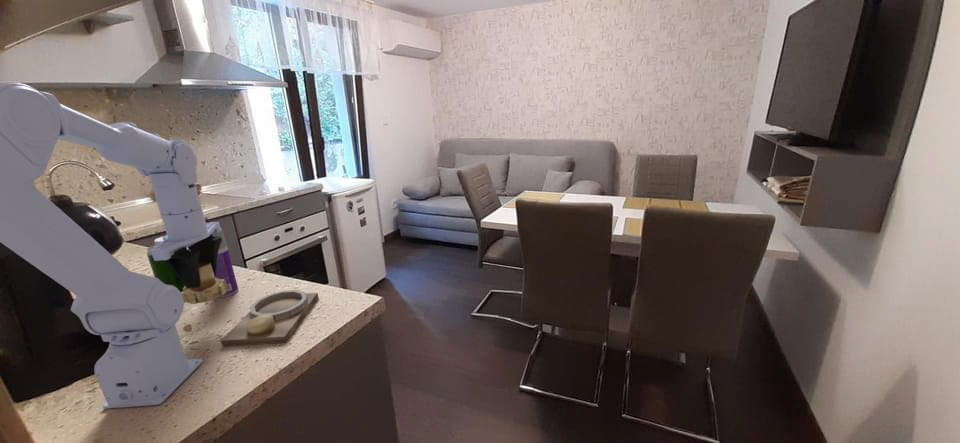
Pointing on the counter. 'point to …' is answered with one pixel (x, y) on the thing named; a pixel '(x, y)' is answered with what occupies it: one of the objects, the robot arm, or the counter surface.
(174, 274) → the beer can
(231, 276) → the container
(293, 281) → the counter surface
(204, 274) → the planet gear
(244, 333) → the carrier board
